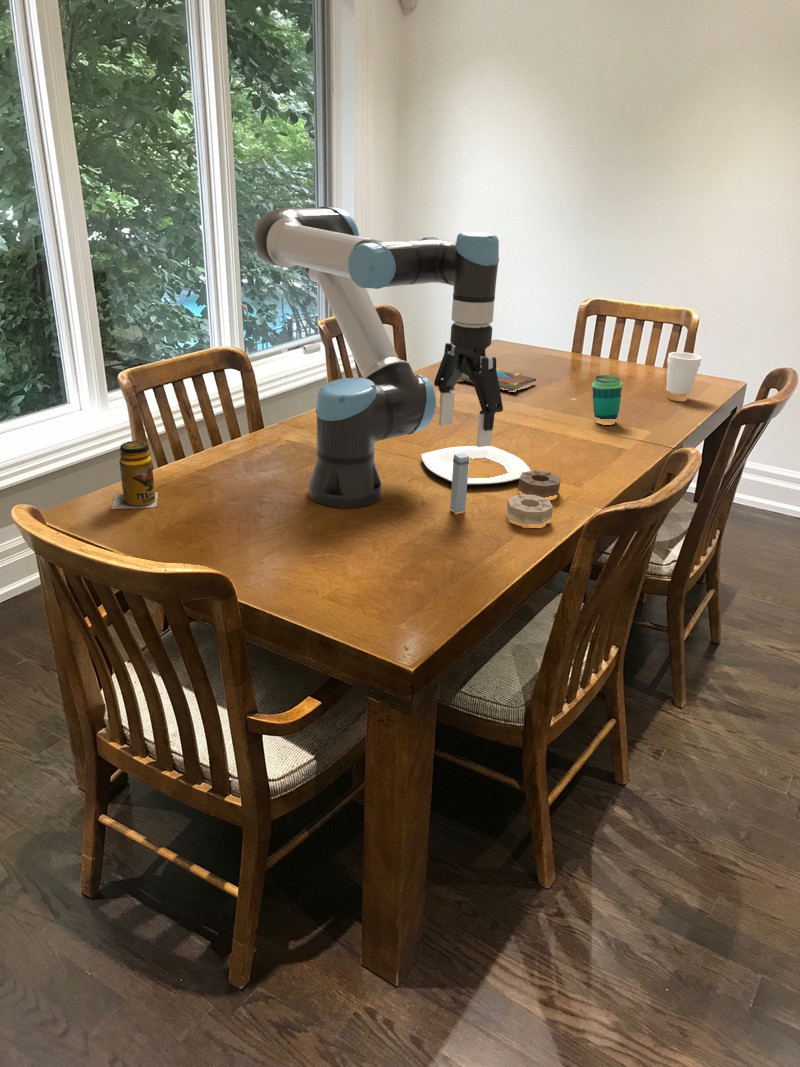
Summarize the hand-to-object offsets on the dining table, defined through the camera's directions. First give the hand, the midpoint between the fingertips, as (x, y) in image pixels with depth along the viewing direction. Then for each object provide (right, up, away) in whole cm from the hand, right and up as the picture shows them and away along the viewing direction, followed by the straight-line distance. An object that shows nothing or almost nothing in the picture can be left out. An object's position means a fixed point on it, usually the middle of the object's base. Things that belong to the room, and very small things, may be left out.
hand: (464, 435), depth 158 cm
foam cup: (+71, +21, +88) cm, 115 cm away
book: (+15, +27, +96) cm, 101 cm away
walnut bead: (+17, -11, +17) cm, 27 cm away
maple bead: (+13, -16, +5) cm, 21 cm away
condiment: (-65, -13, +6) cm, 67 cm away
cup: (+42, +11, +65) cm, 78 cm away
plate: (+5, -5, +29) cm, 29 cm away
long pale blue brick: (-1, -15, +7) cm, 16 cm away
